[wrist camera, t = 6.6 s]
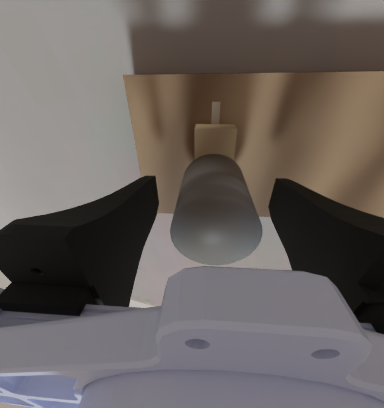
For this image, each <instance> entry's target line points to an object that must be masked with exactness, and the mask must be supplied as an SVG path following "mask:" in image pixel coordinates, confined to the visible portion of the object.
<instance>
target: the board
mask: <svg viewBox="0 0 384 408" xmlns="http://www.w3.org/2000/svg"><path fill="white" fill-rule="evenodd" d="M123 78H124V83H125V89H126V94H127V100H128V105H129V111H130V116H131V122H132V128H133V133H134V139H135V144H136V150H137V155H138V161H139V167H140V172H141V177H143V176H146V175H147V176H156V183H157V190H158V198H159V207H158V211H157V213H174V212H175V208H176V204H177V200H178V196H179V192H180V188H181V184H182V179H183V175H184V172H185V170H186V168H187V167H188V166H189V164H190V163H191V162H193V161H194V160H195V125H196V124H234V125H235V126H236V128H237V137H236V145H235V153H234V161H235V162H236V163H237V164H238V165H239V167H240V169H241V171H242V173H243V176H244V179H245V181H246V184H247V187H248V190H249V192H250V195H251V198H252V200H253V203H254V206H255V208H256V211H257V214H258V216H264V217H271V216H270V212H269V208H268V206H269V202H270V198H271V194H272V191H273V187H274V183H275V179H276V178H287V179H290V180H292V181H295V182H297V183H299V184H301V185H303V186H305V187H307V188H309V189H311V190H313V191H315V192H317V193H319V194H321V195H323V196H325V197H327V198H329V199H332V200H334V201H336V202H339V203H341V204H344V205H346V206H349V207H352V208H354V209H357V210H360V211H363V212H366V213H369V214H372V215H376V216H379V217H382V218H384V71H366V72H295V73H225V74H154V75H123Z"/></svg>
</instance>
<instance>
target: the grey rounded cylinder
mask: <svg viewBox="0 0 384 408" xmlns="http://www.w3.org/2000/svg"><path fill="white" fill-rule="evenodd" d="M236 137H237V128H236V126H235V125H234V124H196V125H195V160H194V161H193V162H191V163H190V164H189V166H188V167H187V168H186V170H185V172H184V175H183V179H182V184H181V188H180V192H179V196H178V200H177V204H176V208H175V212H174V216H173V220H172V224H171V229H170V234H171V239H172V242H173V244H174V246H175V247H176V248H177V250H178V251H179V252H180V253H181V254H183V255H184V256H185V257H187V258H189V259H191V260H193V261H195V262H198V263H202V264H207V265H225V264H230V263H234V262H237V261H239V260H241V259H243V258H245V257H247V256H248V255H250V254H251V253H252V252H253V251H254V250H255V249H256V247H257V246H258V244H259V243H260V240H261V237H262V225H261V222H260V219H259V216H258V214H257V211H256V208H255V206H254V203H253V200H252V198H251V195H250V192H249V190H248V187H247V184H246V181H245V179H244V176H243V173H242V171H241V169H240V167H239V165H238V164H237V163H236V162H235V161H234V153H235V145H236Z"/></svg>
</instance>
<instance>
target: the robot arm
mask: <svg viewBox="0 0 384 408" xmlns="http://www.w3.org/2000/svg"><path fill="white" fill-rule="evenodd" d="M158 207H159V198H158V190H157V183H156V176H147V175H146V176H143V177H141V178H139V179H138V180H136V181H134V182H132V183H130V184H129V185H127V186H125V187H123V188H121V189H120V190H118V191H116V192H114V193H112V194H110V195H108V196H105V197H103V198H100V199H98V200H95V201H93V202H90V203H87V204H84V205H81V206H78V207H74V208H71V209H67V210H63V211H59V212H55V213H50V214H46V215H40V216H34V217H29V218H23V219H16V220H14V221H12V222H11V223H9V224H8V225H6V226H5V227H4V228H2V229H1V230H0V270H1V272H2V273H3V274H4V275H5V276H6V277H7V278H8V279H9V280H10V281H11V282H12V283H11V284H10V285H9V286H8V287H7V288H6V289H5V290H4V289H1V288H0V403H5V404H12V405H18V406H24V407H31V408H384V218H382V217H379V216H376V215H372V214H369V213H366V212H363V211H360V210H357V209H354V208H352V207H349V206H346V205H344V204H341V203H339V202H336V201H334V200H332V199H329V198H327V197H325V196H323V195H321V194H319V193H317V192H315V191H313V190H311V189H309V188H307V187H305V186H303V185H301V184H299V183H297V182H295V181H292V180H290V179H287V178H276V179H275V183H274V187H273V191H272V194H271V198H270V202H269V206H268V208H269V212H270V216H271V219H272V222H273V224H274V227H275V229H276V231H277V233H278V235H279V237H280V240H281V242H282V244H283V246H284V248H285V251H286V253H287V256H288V258H289V261H290V265H291V268H292V271H290V270H271V269H251V268H232V267H213V266H201V267H193V268H185V269H183V270H181V271H180V272H178V273H176V274H175V275H173V276H171V277H170V278H168V281H167V285H166V288H165V292H164V297H163V302H162V306H157V307H149V308H135V307H134V308H133V307H129V303H130V298H131V294H132V289H133V285H134V281H135V277H136V273H137V269H138V265H139V261H140V258H141V254H142V251H143V248H144V245H145V242H146V240H147V238H148V235H149V233H150V230H151V228H152V225H153V223H154V221H155V218H156V215H157V211H158Z"/></svg>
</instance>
